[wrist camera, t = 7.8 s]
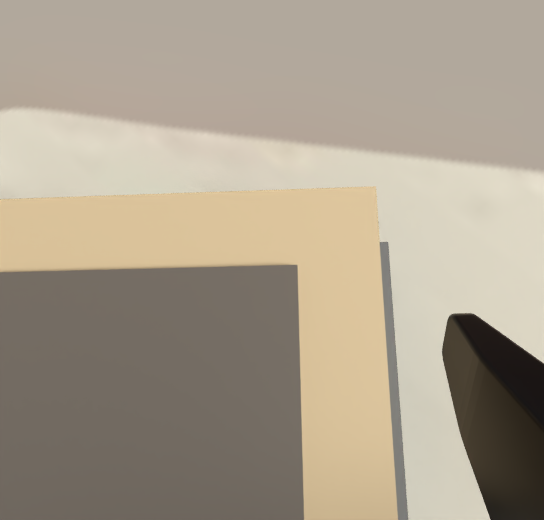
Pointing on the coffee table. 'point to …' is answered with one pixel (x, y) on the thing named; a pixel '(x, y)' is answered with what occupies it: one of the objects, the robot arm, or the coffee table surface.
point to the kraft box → (194, 357)
